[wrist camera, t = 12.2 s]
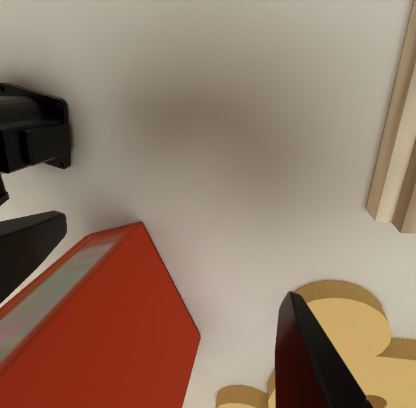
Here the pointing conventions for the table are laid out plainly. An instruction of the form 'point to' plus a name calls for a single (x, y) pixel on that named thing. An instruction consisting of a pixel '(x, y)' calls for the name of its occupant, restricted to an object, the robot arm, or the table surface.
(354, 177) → the table surface
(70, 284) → the file binder
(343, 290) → the decorative plaque
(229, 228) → the table surface
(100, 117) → the table surface
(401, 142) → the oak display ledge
